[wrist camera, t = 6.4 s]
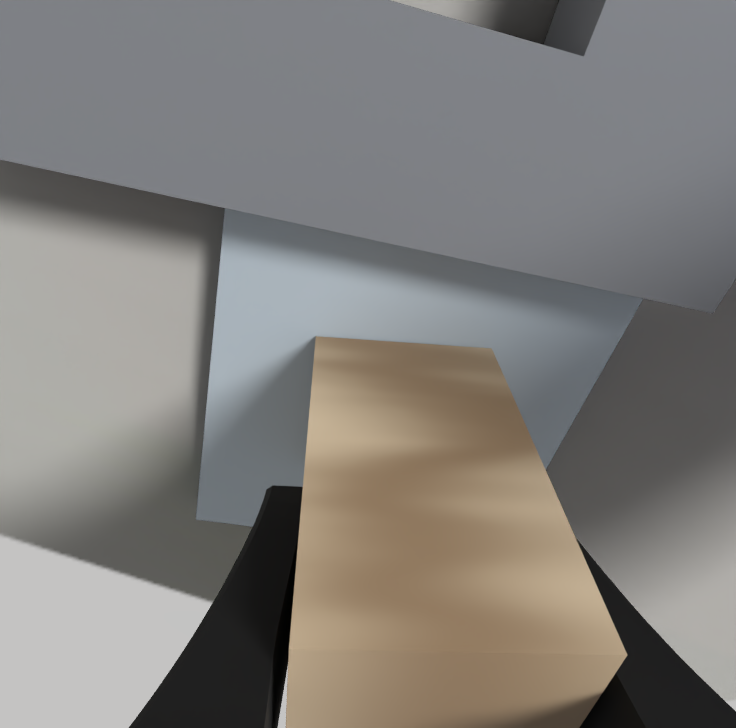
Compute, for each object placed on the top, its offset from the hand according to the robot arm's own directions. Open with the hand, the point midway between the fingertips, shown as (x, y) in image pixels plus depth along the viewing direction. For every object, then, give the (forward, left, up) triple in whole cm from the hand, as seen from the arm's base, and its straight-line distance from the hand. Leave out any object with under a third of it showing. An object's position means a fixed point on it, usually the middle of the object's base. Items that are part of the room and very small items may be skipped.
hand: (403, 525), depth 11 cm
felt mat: (0, 0, -4) cm, 4 cm away
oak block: (0, 0, -3) cm, 3 cm away
